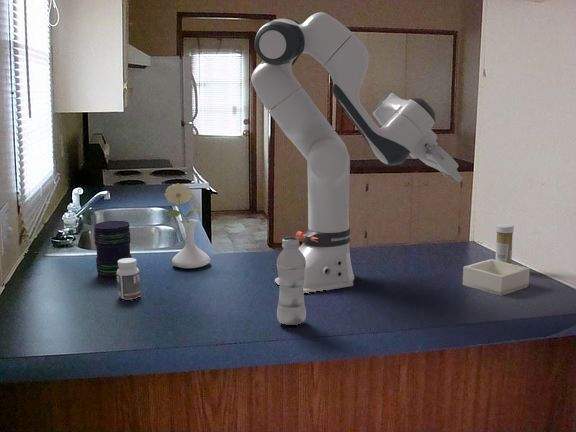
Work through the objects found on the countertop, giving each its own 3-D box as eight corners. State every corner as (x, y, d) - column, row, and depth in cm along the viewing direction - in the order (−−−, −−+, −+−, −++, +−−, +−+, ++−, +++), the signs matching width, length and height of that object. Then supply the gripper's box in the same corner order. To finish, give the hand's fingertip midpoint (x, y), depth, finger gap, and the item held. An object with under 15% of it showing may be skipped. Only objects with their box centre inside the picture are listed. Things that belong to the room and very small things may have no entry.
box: (500, 296, 170) (501, 277, 169) (462, 284, 179) (463, 266, 178) (528, 286, 177) (529, 268, 176) (490, 276, 186) (491, 258, 185)
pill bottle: (145, 295, 174) (143, 258, 172) (133, 302, 169) (131, 264, 167) (126, 293, 176) (123, 256, 174) (113, 300, 171) (111, 262, 169)
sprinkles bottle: (514, 271, 191) (517, 225, 188) (503, 274, 188) (506, 227, 185) (501, 267, 194) (503, 222, 192) (490, 270, 192) (493, 224, 189)
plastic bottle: (275, 319, 156) (274, 235, 151) (304, 318, 156) (304, 234, 152) (277, 329, 149) (276, 242, 145) (308, 328, 150) (307, 241, 146)
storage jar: (100, 282, 185) (96, 229, 182) (94, 273, 194) (90, 222, 191) (136, 277, 189) (132, 226, 186) (129, 268, 198) (126, 219, 195)
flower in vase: (215, 261, 205) (212, 180, 199) (204, 272, 194) (200, 186, 188) (174, 260, 207) (170, 179, 202) (161, 270, 196) (156, 186, 191)
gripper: (441, 138, 171) (476, 174, 174) (418, 131, 191) (450, 164, 194) (423, 155, 172) (459, 192, 175) (402, 147, 192) (434, 180, 195)
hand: (454, 177), depth 185 cm, fingers open, 8 cm apart
